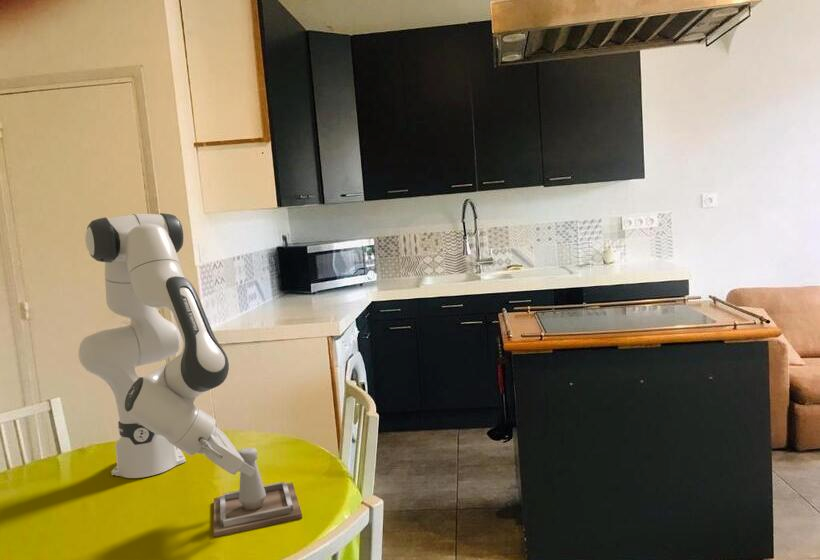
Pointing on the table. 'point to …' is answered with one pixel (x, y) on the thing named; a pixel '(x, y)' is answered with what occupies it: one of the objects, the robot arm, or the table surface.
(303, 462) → the table surface
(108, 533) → the table surface
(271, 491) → the socket plate
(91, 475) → the table surface
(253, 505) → the salt shaker
